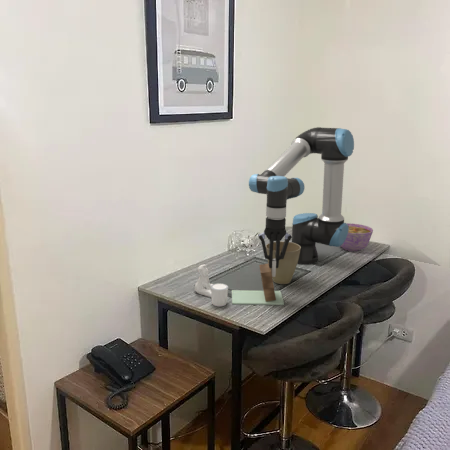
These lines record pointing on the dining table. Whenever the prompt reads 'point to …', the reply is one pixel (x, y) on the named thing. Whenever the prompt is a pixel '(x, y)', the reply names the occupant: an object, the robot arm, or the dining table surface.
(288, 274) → the plant pot
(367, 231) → the bowl of food
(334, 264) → the dining table surface
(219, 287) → the white mug
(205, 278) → the seated beast figurine
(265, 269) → the walnut slab
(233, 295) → the mat
